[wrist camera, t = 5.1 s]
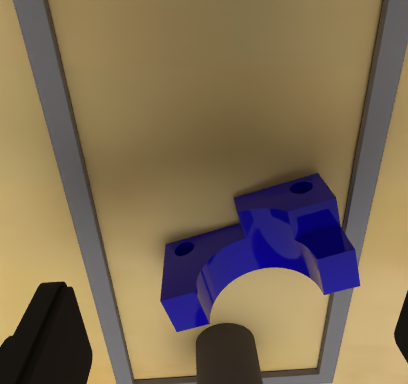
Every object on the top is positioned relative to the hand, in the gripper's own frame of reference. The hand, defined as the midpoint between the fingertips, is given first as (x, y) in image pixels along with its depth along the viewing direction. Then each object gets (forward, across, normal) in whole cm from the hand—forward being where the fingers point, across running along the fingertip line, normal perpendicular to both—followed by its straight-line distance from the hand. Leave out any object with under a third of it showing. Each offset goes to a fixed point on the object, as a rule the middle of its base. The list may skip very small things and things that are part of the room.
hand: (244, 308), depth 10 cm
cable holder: (+8, -1, +2) cm, 8 cm away
